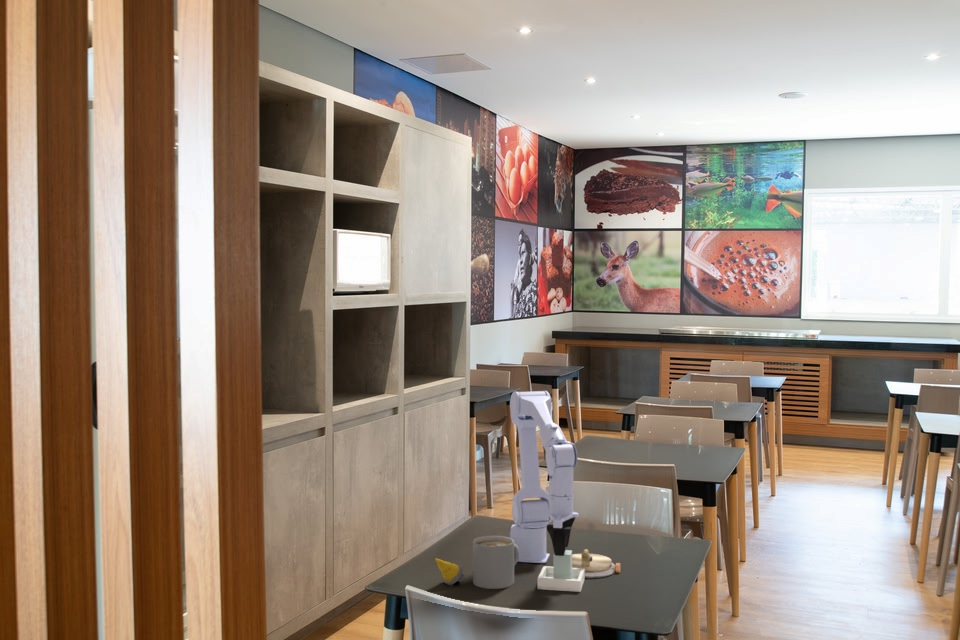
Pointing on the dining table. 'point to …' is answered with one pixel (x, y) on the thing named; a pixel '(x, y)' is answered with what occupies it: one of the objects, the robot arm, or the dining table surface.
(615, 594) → the dining table surface
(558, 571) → the block
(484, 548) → the coffee mug
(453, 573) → the yellow and grey cone
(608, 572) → the crank base
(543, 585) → the tray
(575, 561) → the crank
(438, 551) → the dining table surface
